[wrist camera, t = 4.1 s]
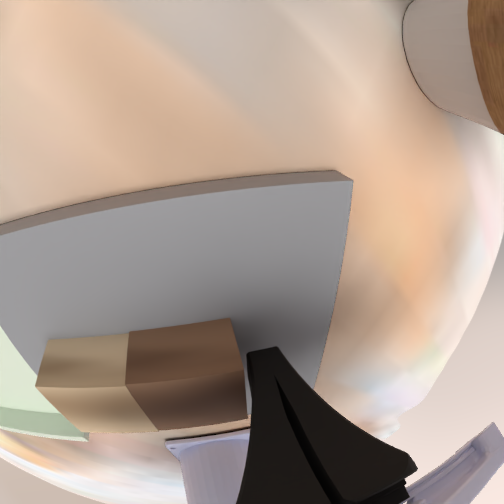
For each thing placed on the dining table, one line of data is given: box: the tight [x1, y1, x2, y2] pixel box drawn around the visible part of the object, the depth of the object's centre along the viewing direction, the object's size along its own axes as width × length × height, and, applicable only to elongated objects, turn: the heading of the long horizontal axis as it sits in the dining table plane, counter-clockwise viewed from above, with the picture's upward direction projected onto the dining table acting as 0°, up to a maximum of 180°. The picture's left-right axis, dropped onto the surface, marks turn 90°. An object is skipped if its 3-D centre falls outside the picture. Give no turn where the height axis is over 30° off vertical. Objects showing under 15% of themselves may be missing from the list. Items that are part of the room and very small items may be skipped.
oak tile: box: [35, 333, 159, 433], centre depth 10 cm, size 4×4×2 cm
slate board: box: [0, 171, 353, 415], centre depth 12 cm, size 14×15×1 cm
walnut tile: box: [125, 318, 248, 430], centre depth 10 cm, size 4×4×2 cm
